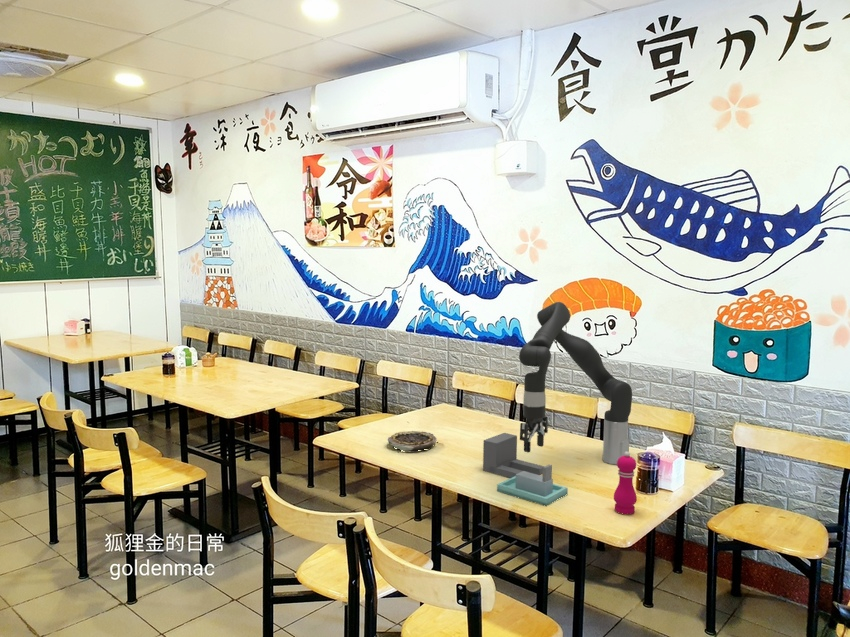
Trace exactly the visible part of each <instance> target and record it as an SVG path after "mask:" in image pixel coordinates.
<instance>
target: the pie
mask: <svg viewBox="0 0 850 637" xmlns="http://www.w3.org/2000/svg"><path fill="white" fill-rule="evenodd" d="M387 441H388V444H390V445H391V446H392V447H393V448H394V447H395V448H397V449H400V450H403V451H418V450H424V449H429V448H431V447H432V446H433V445H436V441H438V438H437V437H436V436H435V434H433V433H431V432H426V431H418V430H417V431H416V430H410V431H399V432H394V434H392V435H391V436H389V437H388V438H387ZM397 449H396V450H397ZM400 450H399V451H400ZM429 450H430V449H429Z"/></svg>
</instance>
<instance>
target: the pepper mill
mask: <svg viewBox="0 0 850 637" xmlns="http://www.w3.org/2000/svg"><path fill="white" fill-rule="evenodd" d="M630 455H631V453H630V451H629V452H625V453H624V456H621V457H620V458H619V459H618V461H617V465H616V467H617V468H618V470H617V471H618V473H617V474H618V476H619V478H618V479H619V481H618V485H617V486H616V489H615V490H614V493H613V500H614V502H615V504H614V511H615V510H616V511H617V512H616V511H615V512H616V513H618V512H619V513H618V514H620V513H623V514H622V515H625V514H630V515H633V514H635V511H636V510H635V508H636V507H635V504H636V503H637V499H638V498H637V497H638V496H637V492H636V491H635V488H634V483H633V478H634V476H635V471H634V470H635V469H636V468H637V461H636V459H635V458H633V457H632V456H630ZM632 513H633V514H632Z"/></svg>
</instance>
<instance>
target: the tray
mask: <svg viewBox="0 0 850 637" xmlns="http://www.w3.org/2000/svg"><path fill="white" fill-rule="evenodd" d="M515 486H516V476H514V477H512V478H508V479H506V480H503V481H501V482H499V483H498V484H496V491H497V492H498V493H501V492H502V494H506V495H508V496H511V495H512V497H514V496H516V498H518V497H519V499H521V498H522V500H524V499H525V501H528V502H531V501H532V502H531V503H534V502H536V503H535V504H537V503H539V504H538V505H541V504H542V505H541V506H544V505H545V507H548V506H550V505H551V504H553V503H555V502H556V500H557V499H559V498H560V499H562V498H564V497H566V496H567V495H568V490H569V489H568V487H567V486H563V485H559V484H557V483H553V493H551V494H549V495H548V496H546V497H543V496H540V495H537V494H533V493H530V492H527V491H523V490H520V489H517V488H515ZM566 494H567V495H566ZM565 495H566V496H565ZM563 496H564V497H563ZM561 497H562V498H561ZM560 499H559V500H560ZM554 501H555V502H554ZM557 501H558V500H557ZM552 502H553V503H552ZM550 503H551V504H550ZM549 504H550V505H549ZM547 505H548V506H547Z"/></svg>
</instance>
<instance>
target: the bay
mask: <svg viewBox="0 0 850 637" xmlns="http://www.w3.org/2000/svg"><path fill="white" fill-rule="evenodd" d="M482 448H483V450H482V452H483V453H482V454H483V458H482V461H483V462H482V471H483V472H486V471H487V473H491V474H494V475H497V476H500V475H501V477H504V478H508V479H510V478H512V477H514V476H516V474H518V473H520V472H522V471H526V472H529V473H533V474H537V475H540V476H542V475H543V467H544V466H545V465H541V464H537V463H533V462H529V461H525V460H522V459H518V457H517V456H518V455H517V453H518V452H517V450H518V449H517V448H518V435H516V434H512V433H507V432H503V433H500V434H497V435H494V436H491V437H489V438H486V439H483V447H482ZM541 474H542V475H541Z"/></svg>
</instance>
